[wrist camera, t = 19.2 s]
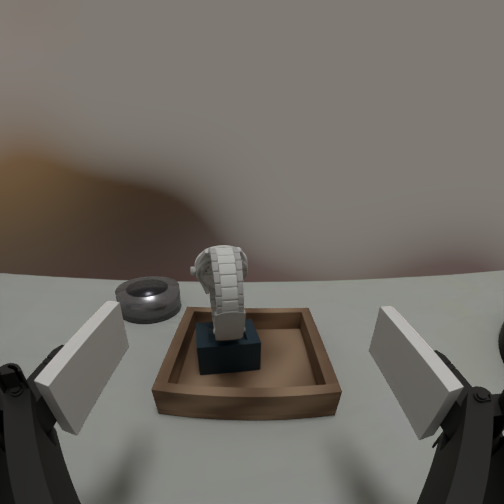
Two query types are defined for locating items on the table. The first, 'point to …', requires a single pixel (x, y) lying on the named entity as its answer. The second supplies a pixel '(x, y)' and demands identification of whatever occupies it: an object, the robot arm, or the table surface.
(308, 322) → the rect wooden tray
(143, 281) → the round socket
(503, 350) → the wall clock
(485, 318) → the table surface
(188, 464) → the table surface
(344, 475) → the table surface
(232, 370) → the watch
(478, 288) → the table surface
